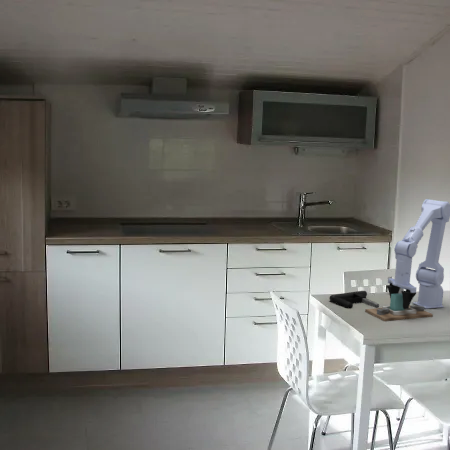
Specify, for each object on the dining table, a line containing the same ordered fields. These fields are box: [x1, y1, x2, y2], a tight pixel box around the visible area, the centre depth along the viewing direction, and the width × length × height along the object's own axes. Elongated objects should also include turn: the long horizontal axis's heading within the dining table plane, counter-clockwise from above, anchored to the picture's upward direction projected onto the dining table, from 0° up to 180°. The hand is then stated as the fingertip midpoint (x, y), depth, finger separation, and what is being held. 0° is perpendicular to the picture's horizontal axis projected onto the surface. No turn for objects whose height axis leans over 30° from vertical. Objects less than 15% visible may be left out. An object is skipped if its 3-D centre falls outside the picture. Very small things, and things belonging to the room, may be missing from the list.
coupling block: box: [389, 293, 405, 311], centre depth 232 cm, size 3×5×7 cm, turn 113°
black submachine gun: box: [328, 290, 380, 309], centre depth 246 cm, size 3×20×16 cm
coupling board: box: [364, 305, 434, 322], centre depth 233 cm, size 23×12×3 cm, turn 113°
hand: (399, 305), depth 233 cm, fingers open, 7 cm apart
